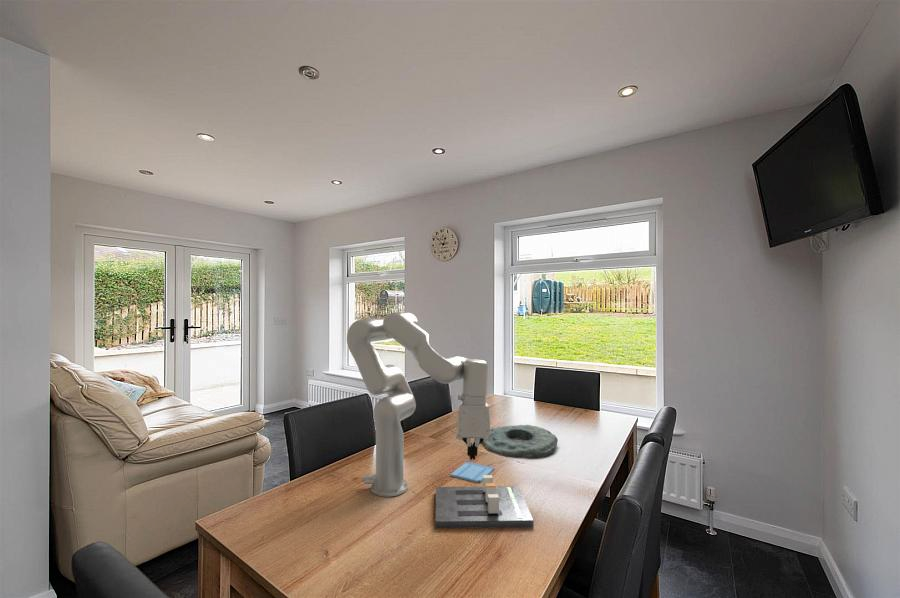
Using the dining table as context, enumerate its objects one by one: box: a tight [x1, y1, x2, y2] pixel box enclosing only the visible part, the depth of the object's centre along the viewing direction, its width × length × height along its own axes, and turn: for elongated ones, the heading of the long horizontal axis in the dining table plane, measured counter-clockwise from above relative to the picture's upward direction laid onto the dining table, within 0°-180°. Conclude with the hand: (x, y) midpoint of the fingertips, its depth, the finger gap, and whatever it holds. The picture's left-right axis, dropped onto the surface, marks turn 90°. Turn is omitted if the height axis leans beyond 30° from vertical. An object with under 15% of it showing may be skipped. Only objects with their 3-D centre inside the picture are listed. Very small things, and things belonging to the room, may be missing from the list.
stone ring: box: [481, 424, 559, 459], centre depth 180 cm, size 34×34×5 cm
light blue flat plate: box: [450, 461, 495, 484], centre depth 148 cm, size 14×12×1 cm
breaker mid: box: [485, 482, 497, 502], centre depth 122 cm, size 3×2×5 cm, turn 92°
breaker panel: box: [435, 485, 534, 530], centre depth 122 cm, size 28×21×2 cm
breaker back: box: [482, 474, 494, 492], centre depth 128 cm, size 3×2×5 cm, turn 92°
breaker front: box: [488, 494, 499, 513], centre depth 115 cm, size 3×2×5 cm, turn 92°
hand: (472, 457), depth 122 cm, fingers closed
